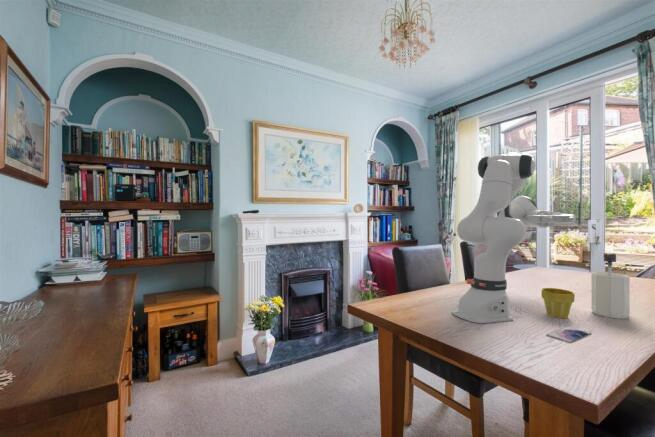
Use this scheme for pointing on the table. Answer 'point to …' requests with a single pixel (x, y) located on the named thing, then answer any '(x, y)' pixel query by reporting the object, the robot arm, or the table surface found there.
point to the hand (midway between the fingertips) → (562, 219)
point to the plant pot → (557, 301)
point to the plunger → (609, 261)
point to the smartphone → (569, 334)
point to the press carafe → (610, 295)
